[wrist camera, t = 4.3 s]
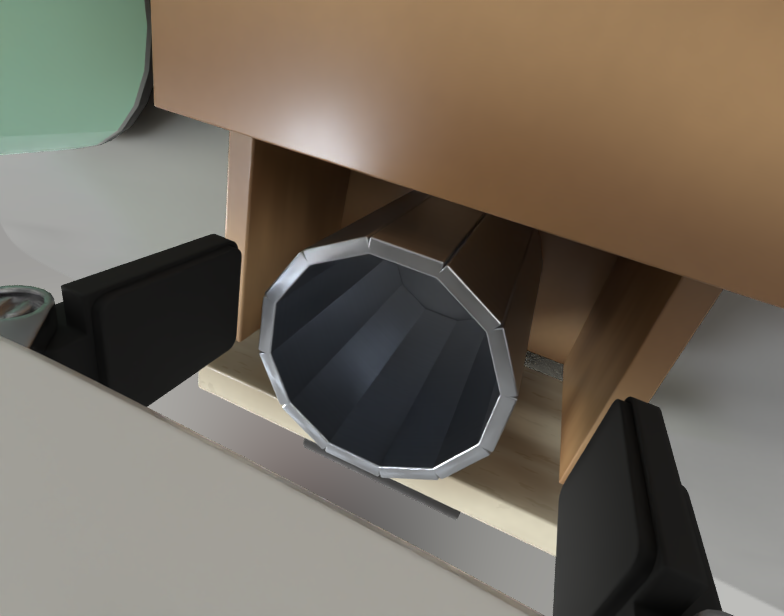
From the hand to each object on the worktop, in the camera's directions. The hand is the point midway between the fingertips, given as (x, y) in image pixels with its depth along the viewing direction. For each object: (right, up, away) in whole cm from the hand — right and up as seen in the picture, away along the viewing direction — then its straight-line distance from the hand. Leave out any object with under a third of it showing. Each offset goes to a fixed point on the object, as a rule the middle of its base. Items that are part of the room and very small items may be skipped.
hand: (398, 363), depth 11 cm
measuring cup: (+3, +3, +7) cm, 8 cm away
